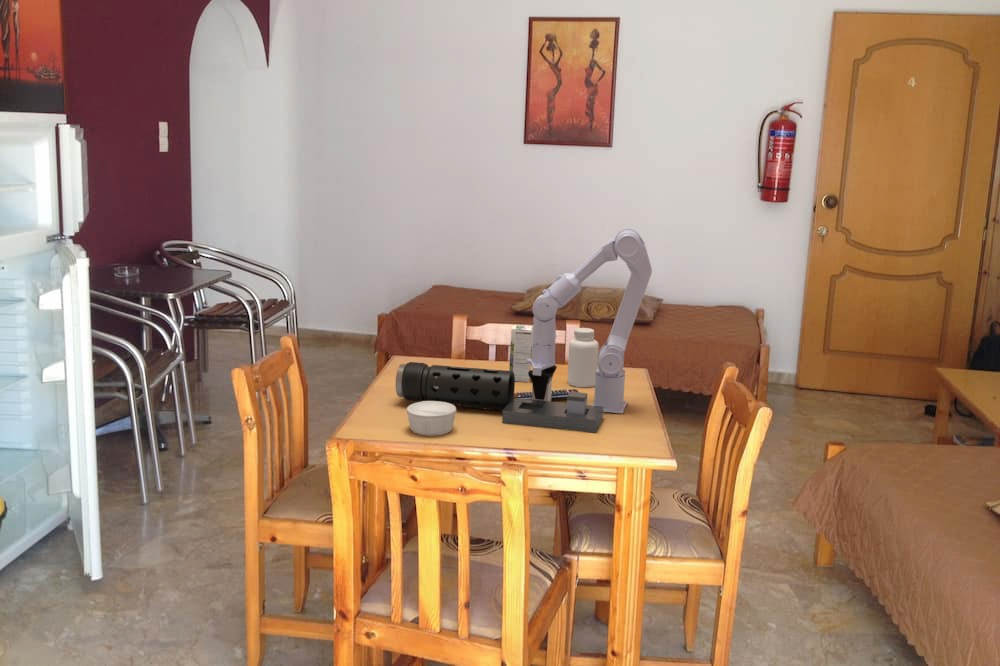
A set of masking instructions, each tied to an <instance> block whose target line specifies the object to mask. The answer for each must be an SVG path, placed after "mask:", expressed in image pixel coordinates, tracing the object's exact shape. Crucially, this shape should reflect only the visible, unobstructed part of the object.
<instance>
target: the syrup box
mask: <svg viewBox="0 0 1000 666" xmlns="http://www.w3.org/2000/svg"><path fill="white" fill-rule="evenodd" d="M532 331H533V326H531V325H521V324H517V325H515V324H514V325H512V326H511V331H510V349H509V366H508V367H509V369H508V371H513V372H514V376H515V382H521V383H522V382H525V383H526V382H527V383H528V382H530V381H531V379H530V377H529V375H528V372H529V371H530V370H532V368H531V367H532V365H531V363H527V359H532Z"/></svg>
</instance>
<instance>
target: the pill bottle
mask: <svg viewBox="0 0 1000 666" xmlns="http://www.w3.org/2000/svg"><path fill="white" fill-rule="evenodd" d="M573 332H574V333H573V336H574V338H572V339H571V340H570V341H569V343H568V362H567V363H568V364H567V383H568V385H570V386H572V387H575V388H576V387H577V388H593V387H595V374H596V370H597V369H598V365H597V362H598V358H599V350H600V344H599V342H598V341H597V340H596V339H595V330H594V329H592V328H589V327H578V328H575V329H574V330H573Z"/></svg>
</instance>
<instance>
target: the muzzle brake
mask: <svg viewBox="0 0 1000 666" xmlns="http://www.w3.org/2000/svg"><path fill="white" fill-rule="evenodd" d="M395 375H396V376H395V393H396V395H397V397H398V398H403V400H405V401H412V402H423V401H440V402H446V403H450V404H452V405H459V406H460V407H461V408H464V407H469V408H471V409H482V410H491V411H493V410H494V411H503V409H504V408H505V407H506V406H507V405H508V404H509V403H510V402H511V400H512V399H513V398H515V389H516V388H515V387H516V386H515V385H516V384H515V383H516V381H515V376H514V372H513V371H509V370H502V369H501V370H500V369H490V368H480V367H479V368H477V367H466V366H465V367H464V366H450V365H439V364H438V365H437V364H432V365H431V366H429V365H428V364H426V363H425V362H417V361H415V362H414V361H409V362H407V363H401V364H399V365H398V368H397V371H396V374H395Z"/></svg>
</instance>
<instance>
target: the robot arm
mask: <svg viewBox="0 0 1000 666" xmlns="http://www.w3.org/2000/svg"><path fill="white" fill-rule="evenodd" d="M646 247H647V246H646V243H645V241H644V240H643V238H642V237H641V235H640V234H639V233H638V232H637V231H636V230H635V229H632V228H625V229H622V230H621V231H619V232H618V233H617V234H616V236H613V237H611V238H610V239H608V240H607V241H606V242H604V243H602V245H600V246H599V247H598V248H597V249H596V250H595V251H594V252H593V253H592V254H591V255H590V256H589V257H588V258H587V259H585V261H584V262H583V263H581V265H579V267H577V269H575V270H574V271H573V272H565V273H563V274H558V275H557V277H556V280H555V282H553V283H552V284H551V285H550V286H549V287H548V288H544V289H543V290H542V294H541V295H539V296H538V297H536V299H535V301H534V302H533V304H532V313H533V319H532V321H533V324H532V327H533V330H532V352H531V359H527V363H531V367H532V369H531V370H530V371H529V372H528V375H529V377H530V381H531V383H532V387H533V389H534V395H535V399H540V400H544V398H545V394H546V388H547V384H548V381H549V378H550V376H552V378H553V377H554V374H555V372H556V370H557V368H558V366H557V365H556V360H555V359H556V358H555V357H556V335H557V334H556V332H557V326H556V315H557V311H558V309H560V308H563V307H564V306H565V305H567V304H568V303H569V302H570V301H571V300H572V299H573V298H574V297H575V296H577V294H579V293H580V292H581V291H582V283H583V282H584V281H585V280H586V279H588V278H589V277H590V276H591V275H592V274H593V273H595V272H596V271H597V270H598V269H599V268H600V267H602V265H604V264H605V263H607V262H613V261H614V262H615V261H617V260H618V257H619V258H620V259H621V260H622V261H623V262H624V263H626V266H627V268H628V269H629V272H630V276H629V279H628V282H627V284H626V288H625V289H624V290H625V291H624V293H623V295H622V298H621V301H620V304H619V307H618V309H617V314H616V316H615V318H614V322H613V325H612V327H611V330H610V333H609V335H608V338H607V339H606V342H605V343H604V344H603V345H602V346H601V347H600V348H599V352H598V362H597V365H598V369H597V370H596V374H595V386H594V394H593V395H594V398H593V403H592V404H591V406H602V407H604V409H603V413H612V414H614V413H615V414H623V413H624V411H625V408H626V407H627V405H628V401H627V400H626V401H625V400H624V399H625V398H624V397H625V384H626V383H625V382H626V381H625V379H626V370H625V369H624V365H625V362H624V361H625V360H624V359H625V351H626V348H627V344H628V341H629V337H630V334H631V332H632V330H633V327H634V324H635V321H636V318H637V316H638V313H639V310H640V307H641V304H642V301H643V298H644V296H645V292H646V291H647V288H648V284H649V282H650V278H651V276H652V272H653V269H652V265H651V261H650V258H649V254H648V249H647V248H646Z"/></svg>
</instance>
